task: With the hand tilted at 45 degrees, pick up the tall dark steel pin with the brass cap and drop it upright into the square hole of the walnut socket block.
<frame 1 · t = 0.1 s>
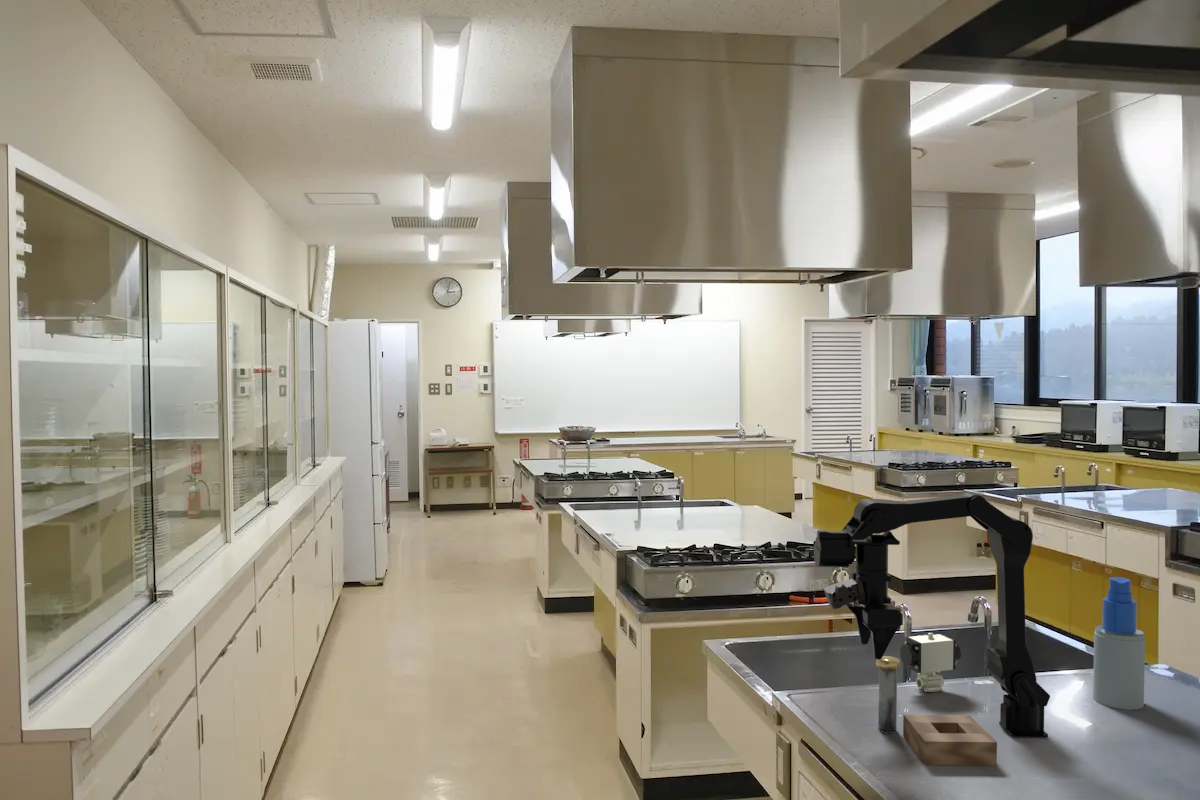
hand: (870, 651, 167), 15 cm above the countertop, tool pointing down, fingers open, 9 cm apart
steel pin: (887, 729, 168), on the countertop
pneumatic valve: (928, 690, 189), on the countertop
socket block: (948, 750, 158), on the countertop
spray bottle: (1118, 702, 182), on the countertop
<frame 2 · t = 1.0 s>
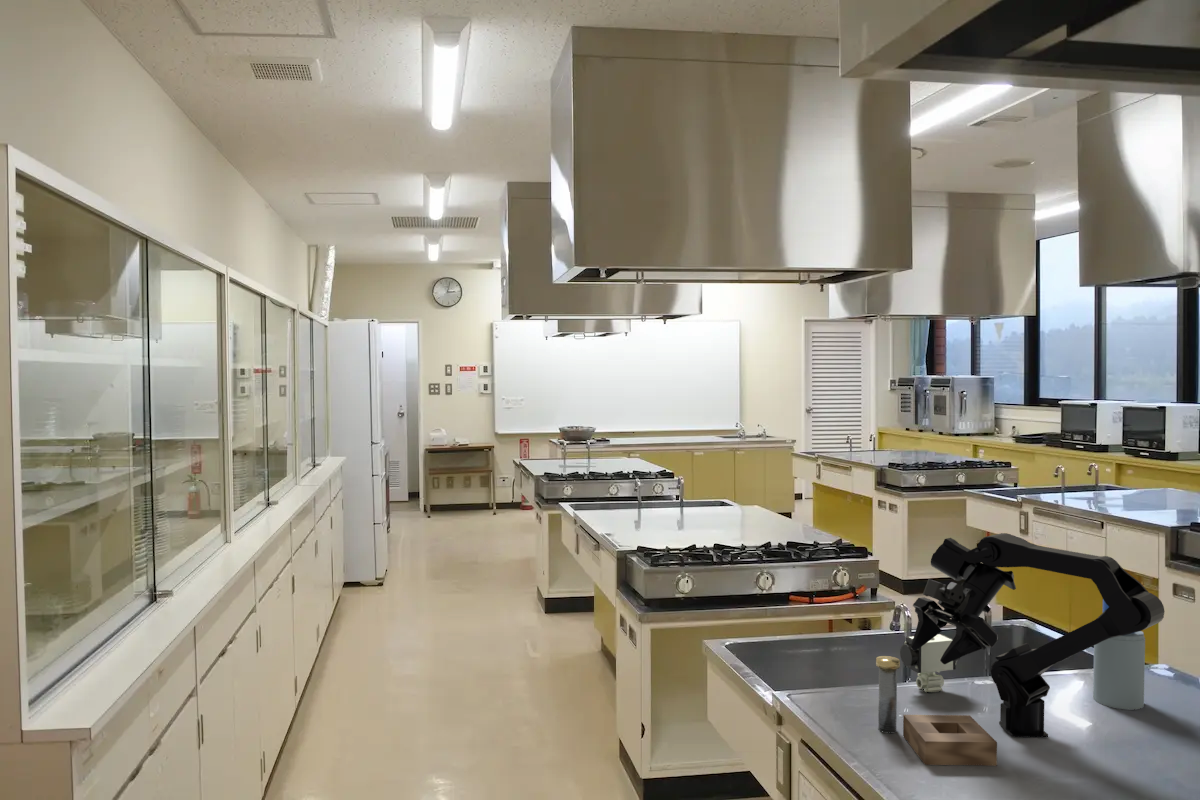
hand: (926, 655, 169), 13 cm above the countertop, tool tilted 45°, fingers open, 9 cm apart
nothing on the countertop moved.
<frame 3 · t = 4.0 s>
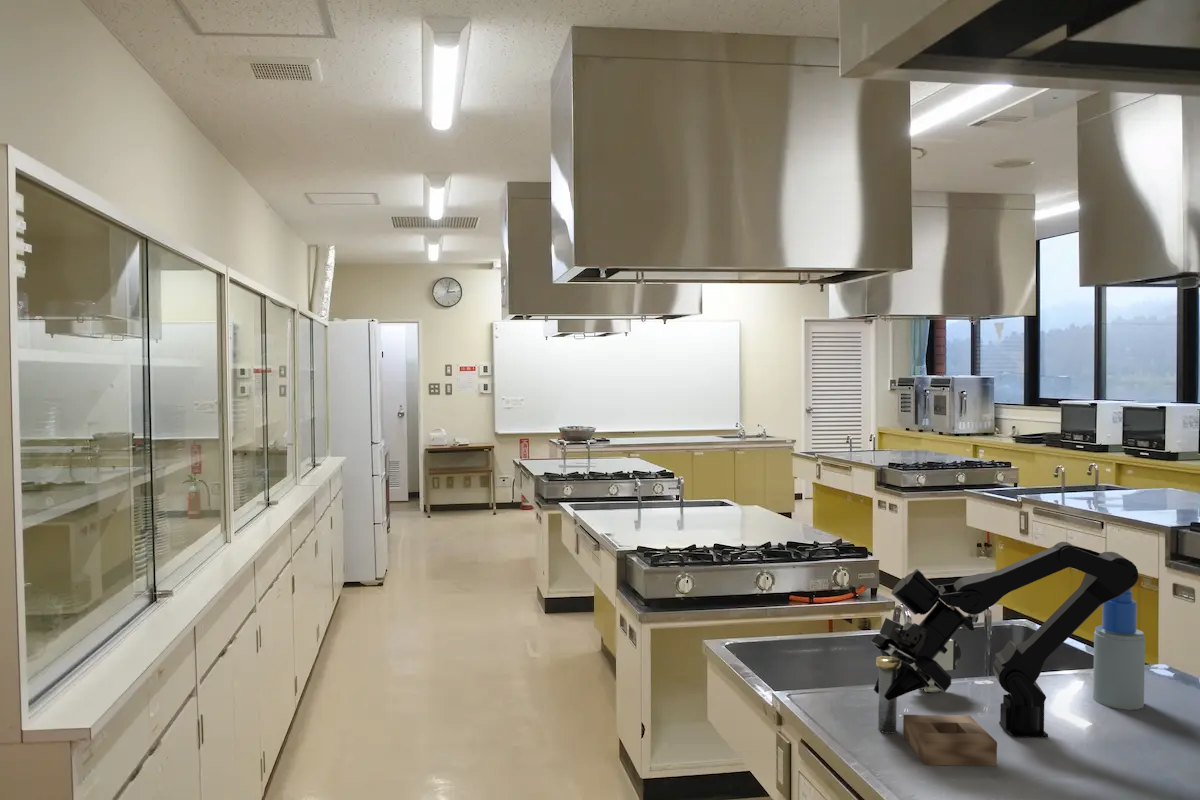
hand: (880, 695, 167), 7 cm above the countertop, tool tilted 45°, fingers closed on steel pin, 3 cm apart
steel pin: (887, 729, 168), on the countertop, touching gripper
everything else where it was.
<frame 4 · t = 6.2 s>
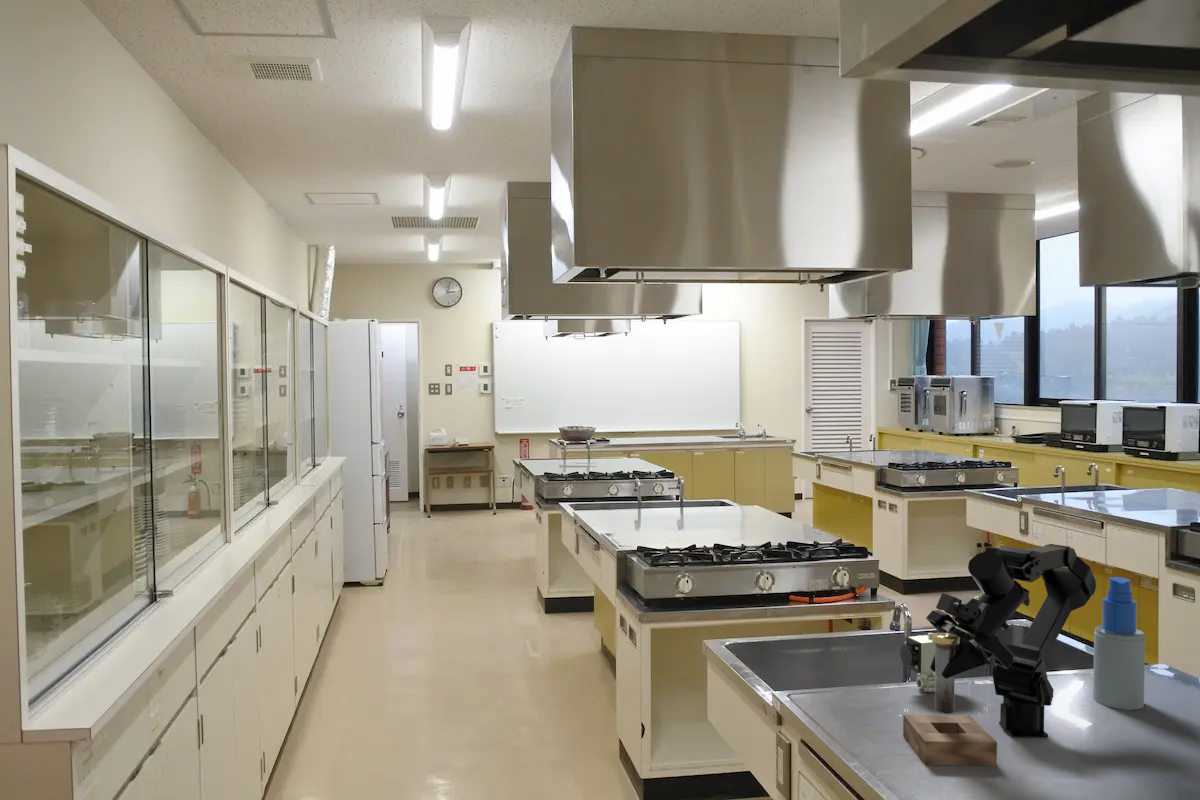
hand: (937, 673, 159), 14 cm above the countertop, tool tilted 45°, fingers closed on steel pin, 3 cm apart
steel pin: (944, 710, 159), point 7 cm above the countertop, touching gripper
everything else where it was.
when the fingers open (8 cm above the countertop, at t = 8.2 s): steel pin drops 1 cm, resting in socket block.
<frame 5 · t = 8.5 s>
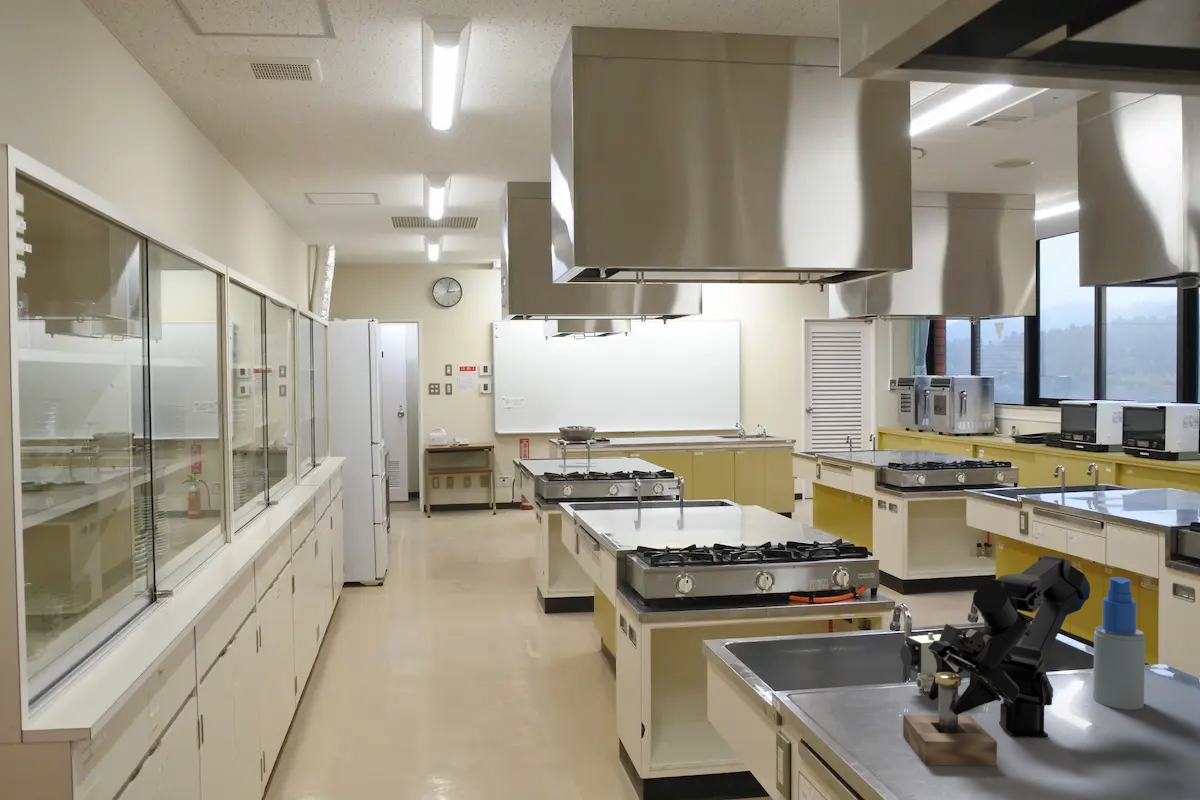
hand: (941, 705, 158), 8 cm above the countertop, tool tilted 45°, fingers open, 7 cm apart
steel pin: (948, 750, 159), resting in socket block
everything else where it was.
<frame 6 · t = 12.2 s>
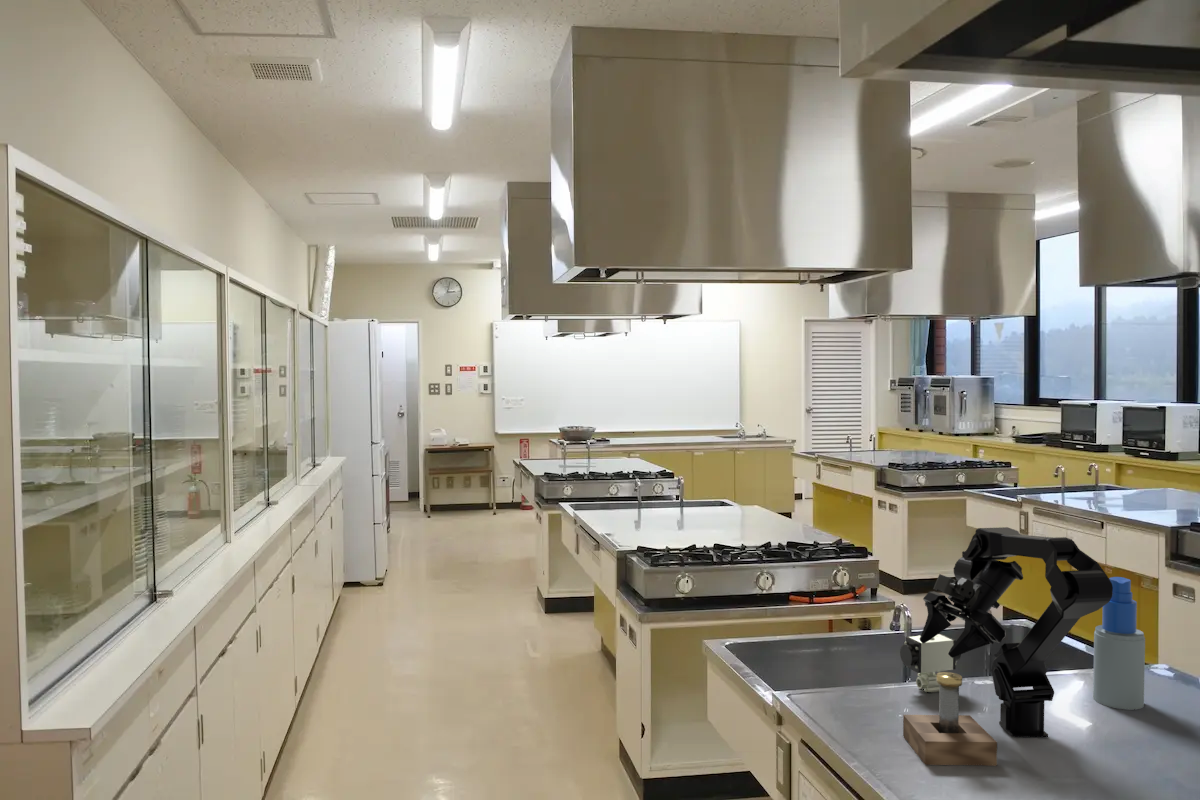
hand: (935, 648, 173), 14 cm above the countertop, tool tilted 45°, fingers open, 9 cm apart
nothing on the countertop moved.
at the end: steel pin 0.1 cm from the socket block (horizontally); steel pin resting in socket block; steel pin tilted 0° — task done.
